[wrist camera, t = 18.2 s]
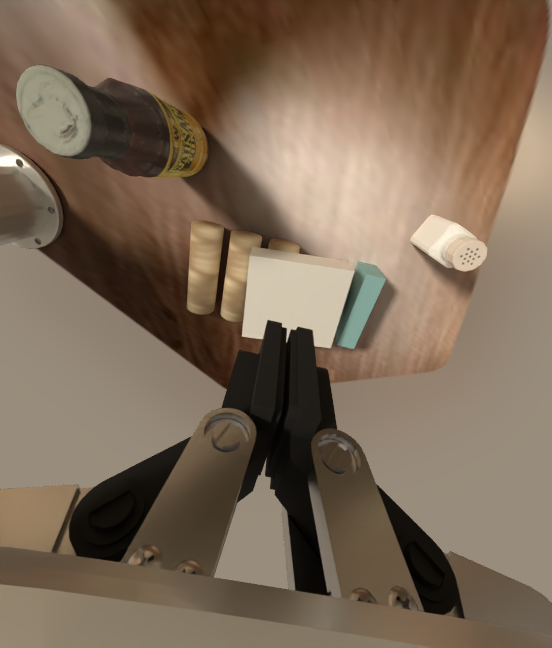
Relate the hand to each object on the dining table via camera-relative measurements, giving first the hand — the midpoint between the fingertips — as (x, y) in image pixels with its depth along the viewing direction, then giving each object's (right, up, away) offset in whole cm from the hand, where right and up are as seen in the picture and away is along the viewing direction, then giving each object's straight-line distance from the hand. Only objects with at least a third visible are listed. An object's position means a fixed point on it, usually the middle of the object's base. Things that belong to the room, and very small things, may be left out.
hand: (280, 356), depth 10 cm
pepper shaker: (+20, +13, +25) cm, 35 cm away
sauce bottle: (-11, +22, +22) cm, 33 cm away
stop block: (+11, +5, +30) cm, 33 cm away
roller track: (-1, +8, +30) cm, 31 cm away
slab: (+2, +5, +26) cm, 27 cm away
